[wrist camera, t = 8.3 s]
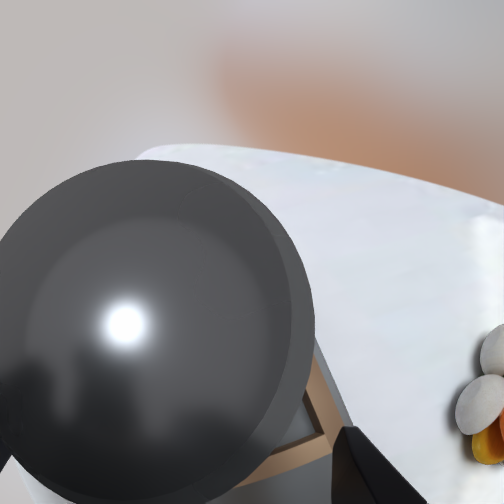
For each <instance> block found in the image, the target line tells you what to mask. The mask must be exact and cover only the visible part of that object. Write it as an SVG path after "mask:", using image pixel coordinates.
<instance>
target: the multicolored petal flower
mask: <svg viewBox="0 0 504 504" xmlns="http://www.w3.org/2000/svg"><path fill="white" fill-rule="evenodd" d="M480 363H481V368H482V370H483V372H484V374H485V375H484V376H481V377H478V378H477V379H475V380H473V381H472V382H471V383H470V384H468V385H467V387H466V388H465V389H464V390H463V392H462V393H461V395H460V397H459V399H458V402H457V405H456V411H455V418H456V422H457V425H458V427H459V429H460V431H461V432H462V433H464V434H467V435H472V434H473V438H472V451H473V454H474V457H475V459H476V460H477V461H478V462H480V463H482V464H485V465H492V464H496V463H500V464H501V465H502V466H504V324H502V325H499V326H498V327H496V328H495V329H493V330H492V331H491V332H490V333H489V335H488V336H487V337H486V339H485V341H484V343H483V345H482V348H481V354H480Z"/></svg>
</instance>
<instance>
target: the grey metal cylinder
mask: <svg viewBox="0 0 504 504" xmlns="http://www.w3.org/2000/svg"><path fill="white" fill-rule="evenodd" d="M314 345H315V315H314V308H313V301H312V294H311V288H310V285H309V281H308V278H307V275H306V272H305V268H304V265H303V262H302V260H301V258H300V256H299V254H298V252H297V250H296V247H295V245H294V243H293V241H292V240H291V238H290V237H289V235H288V234H287V232H286V231H285V229H284V228H283V226H282V224H281V223H280V222H279V220H278V219H277V218H276V217H275V216H274V215H273V214H272V213H271V211H270V210H269V209H268V208H267V207H266V206H265V205H264V204H263V203H262V202H261V201H260V200H258V199H257V198H256V197H255V196H254V195H253V194H251V193H250V192H249V191H247V190H246V189H244V188H243V187H241V186H240V185H238V184H237V183H235V182H234V181H232V180H230V179H228V178H226V177H224V176H222V175H220V174H217V173H215V172H213V171H210V170H207V169H204V168H201V167H198V166H194V165H189V164H184V163H179V162H171V161H158V160H130V161H124V162H117V163H112V164H108V165H104V166H100V167H96V168H93V169H91V170H88V171H85V172H83V173H80V174H78V175H76V176H74V177H72V178H70V179H68V180H66V181H64V182H62V183H61V184H59V185H57V186H56V187H54V188H53V189H51V190H49V191H48V192H47V193H46V194H44V195H43V196H42V197H40V198H39V199H38V200H36V201H35V202H34V203H33V204H32V205H31V206H30V207H29V208H28V209H27V210H25V212H23V213H22V215H21V216H20V217H19V218H18V219H17V220H16V221H15V222H14V224H13V225H12V226H11V227H10V229H9V230H8V231H7V233H6V234H5V235H4V237H3V238H2V239H1V241H0V438H1V440H2V441H3V443H4V444H5V446H6V447H7V449H8V450H9V452H10V453H11V454H12V455H13V457H14V458H15V459H16V460H17V461H18V462H19V463H20V464H21V466H22V467H23V468H24V469H25V470H26V471H27V472H28V473H30V474H31V475H32V476H33V477H34V478H35V479H37V480H38V481H39V482H40V483H41V484H43V485H44V486H45V487H47V488H48V489H50V490H52V491H53V492H55V493H56V494H58V495H60V496H61V497H63V498H65V499H67V500H69V501H71V502H73V503H76V504H204V503H207V502H209V501H211V500H213V499H215V498H217V497H219V496H221V495H223V494H225V493H226V492H228V491H229V490H230V489H232V488H233V487H235V486H236V485H238V484H239V483H240V482H242V481H243V480H245V479H246V478H247V477H248V476H249V475H250V474H251V473H253V472H254V471H255V470H256V469H257V468H258V467H259V466H260V465H261V464H262V463H263V462H264V461H265V460H266V459H267V458H268V457H269V455H270V454H271V453H272V451H273V450H274V449H275V447H276V446H277V444H278V443H279V442H280V440H281V439H282V437H283V436H284V435H285V433H286V432H287V430H288V428H289V426H290V424H291V422H292V420H293V418H294V416H295V414H296V412H297V410H298V408H299V406H300V404H301V401H302V398H303V395H304V392H305V389H306V386H307V382H308V379H309V376H310V372H311V365H312V359H313V352H314Z"/></svg>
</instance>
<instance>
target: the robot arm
mask: <svg viewBox="0 0 504 504" xmlns="http://www.w3.org/2000/svg"><path fill="white" fill-rule="evenodd" d="M11 455H12V454H11V453H10V452H9V450H8V449H7V447H6V446H5V444H4V443H3V441H2V440H1V438H0V472H1V471H2V469H3V468H4V466H5V464H6V463H7V461H8V460H9V458H10V457H11ZM331 504H427V501H426V500H425V499H424V498H423V497H422V496H421V495H420V494H419V493H418V492H417V491H416V490H415V489H414V488H413V487H412V486H411V484H410V483H409V482H408V481H407V480H406V479H405V478H404V477H403V476H402V475H401V474H400V473H399V472H398V471H397V470H396V468H395V467H394V466H393V465H392V464H391V463H390V462H389V461H388V460H387V459H386V458H385V457H384V455H383V454H382V453H381V452H380V451H379V450H378V449H377V448H376V447H375V446H374V445H373V443H372V442H371V441H370V440H369V439H368V438H367V437H366V436H365V435H364V433H363V432H362V431H361V430H360V429H359V428H358V427H357V426H343V427H342V428H341V429H340V431H339V434H338V436H337V438H336V440H335V442H334V445H333V450H332V479H331Z"/></svg>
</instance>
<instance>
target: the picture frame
mask: <svg viewBox="0 0 504 504" xmlns="http://www.w3.org/2000/svg"><path fill="white" fill-rule="evenodd" d="M343 426H353V423H352V421H351V419H350V416H349V414H348V412H347V409H346V407H345V405H344V402H343V400H342V398H341V395H340V393H339V391H338V388H337V386H336V384H335V381H334V379H333V377H332V375H331V372H330V370H329V368H328V365H327V363H326V361H325V359H324V356H323V354H322V352H321V350H320V347H319V345H318V343H317V340H316V338H315V345H314V352H313V359H312V365H311V372H310V376H309V379H308V382H307V386H306V389H305V392H304V395H303V398H302V401H301V404H300V406H299V408H298V410H297V412H296V414H295V416H294V418H293V420H292V422H291V424H290V426H289V428H288V430H287V432H286V433H285V435H284V436H283V437H282V439H281V440H280V442H279V443H278V444H277V446H276V447H275V449H274V450H273V451H272V453H271V454H270V455H269V457H268V458H267V459H266V460H265V461H264V462H263V463H262V464H261V465H260V466H259V467H258V468H257V469H256V470H255V471H254V472H253V473H251V474H250V475H249V476H248V477H247V478H246V479H245V480H243V481H242V482H240V483H239V484H238V485H236V486H235V487H233V488H232V489H230V490H229V491H228V492H226V493H225V494H223V495H221V496H219V497H217V498H215V499H213V500H211V501H209V502H207V503H204V504H331V479H332V450H333V445H334V442H335V440H336V438H337V436H338V434H339V431H340V429H341V428H342V427H343Z"/></svg>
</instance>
